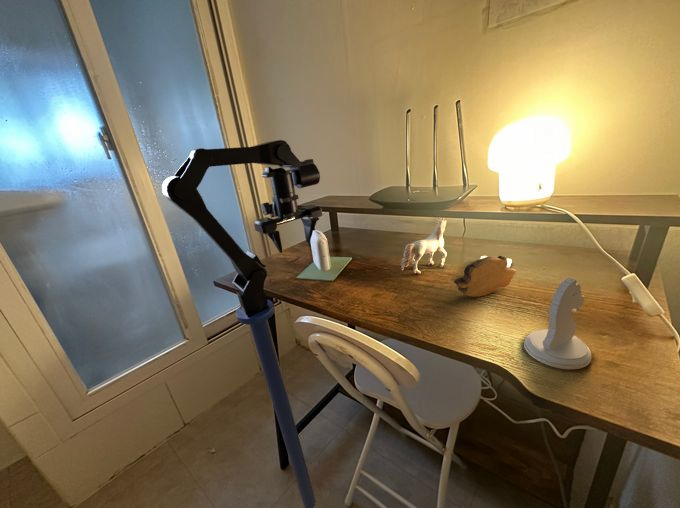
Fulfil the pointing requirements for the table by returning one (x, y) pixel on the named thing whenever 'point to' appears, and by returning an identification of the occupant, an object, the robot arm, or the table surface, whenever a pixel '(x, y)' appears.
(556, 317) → the chess piece
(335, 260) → the felt mat
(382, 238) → the table surface
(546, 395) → the table surface
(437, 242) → the unicorn figurine
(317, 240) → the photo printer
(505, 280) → the wooden carving
